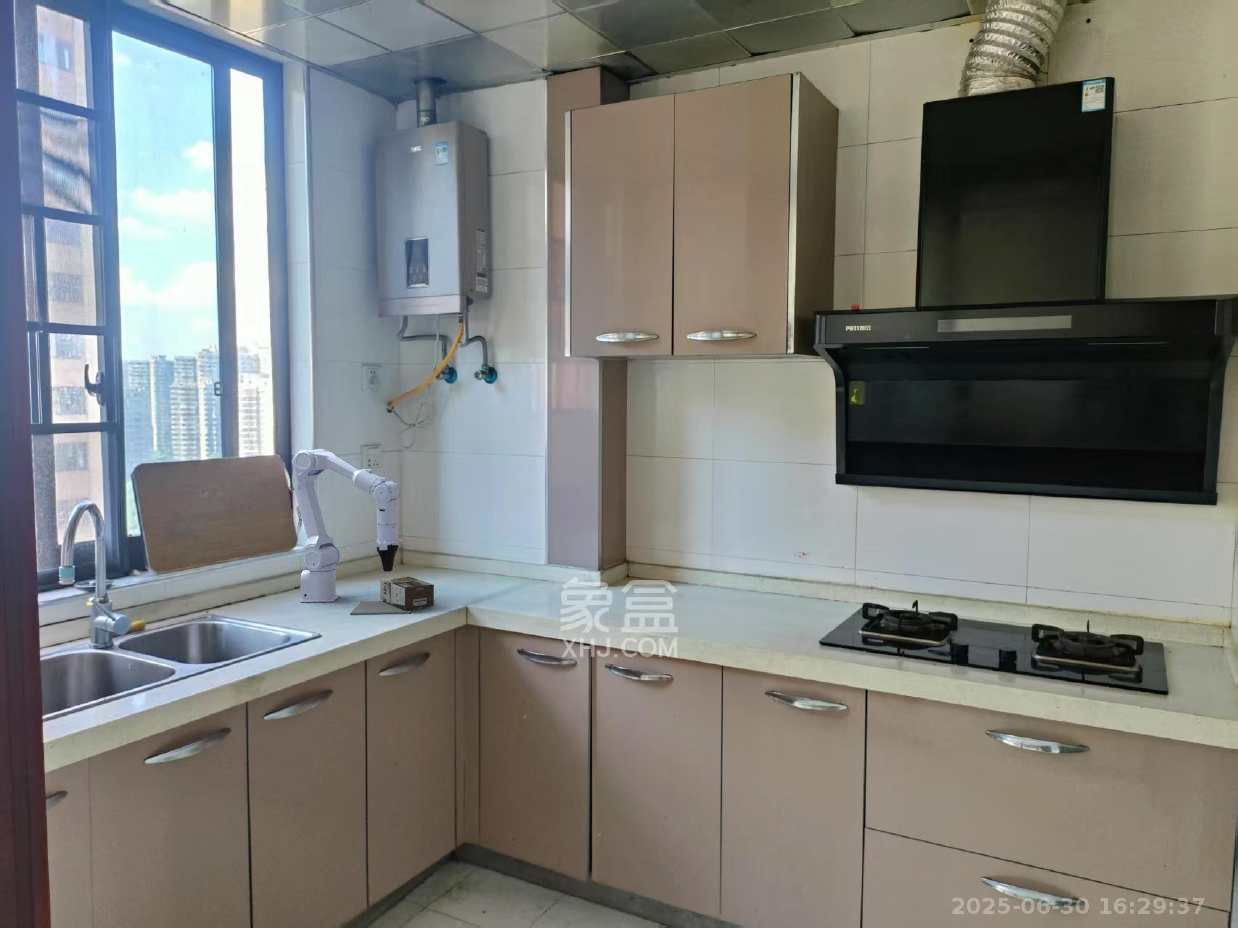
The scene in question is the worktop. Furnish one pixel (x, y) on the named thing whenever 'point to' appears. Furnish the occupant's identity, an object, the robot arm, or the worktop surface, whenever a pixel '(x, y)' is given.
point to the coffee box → (407, 592)
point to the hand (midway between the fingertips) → (388, 571)
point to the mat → (377, 608)
